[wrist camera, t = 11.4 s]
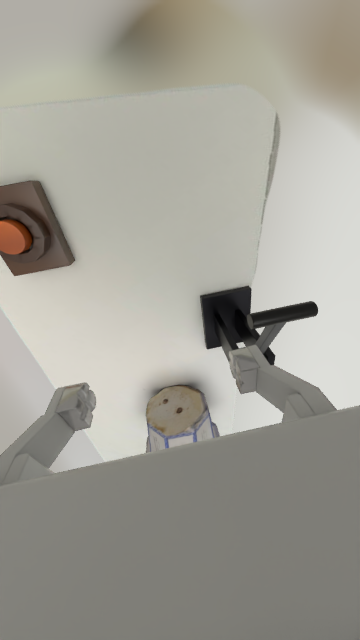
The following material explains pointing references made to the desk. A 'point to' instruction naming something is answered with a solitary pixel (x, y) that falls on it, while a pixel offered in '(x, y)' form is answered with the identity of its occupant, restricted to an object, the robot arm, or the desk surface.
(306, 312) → the lever
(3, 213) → the button block
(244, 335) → the bracket
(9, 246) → the button
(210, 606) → the robot arm
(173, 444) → the potted plant
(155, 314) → the desk surface
